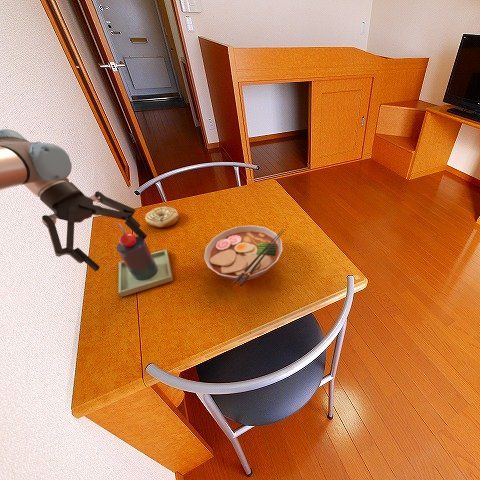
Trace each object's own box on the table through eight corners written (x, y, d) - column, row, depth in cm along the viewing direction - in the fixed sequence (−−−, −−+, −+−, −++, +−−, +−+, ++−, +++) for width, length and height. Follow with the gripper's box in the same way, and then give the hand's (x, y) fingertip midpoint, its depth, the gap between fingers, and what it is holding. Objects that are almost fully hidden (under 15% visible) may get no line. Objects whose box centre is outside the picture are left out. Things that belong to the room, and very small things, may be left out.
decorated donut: (163, 233, 97) (159, 224, 95) (141, 224, 100) (137, 216, 98) (185, 217, 104) (182, 209, 102) (164, 210, 108) (161, 202, 105)
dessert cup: (127, 279, 80) (97, 230, 68) (141, 262, 85) (114, 215, 73) (150, 281, 80) (123, 233, 68) (162, 264, 85) (139, 217, 73)
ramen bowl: (241, 233, 98) (237, 214, 93) (298, 252, 92) (297, 233, 87) (190, 281, 81) (181, 261, 76) (256, 308, 74) (252, 289, 69)
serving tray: (121, 297, 76) (118, 292, 75) (121, 266, 84) (118, 262, 83) (172, 280, 81) (171, 276, 80) (168, 253, 90) (166, 249, 88)
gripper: (102, 176, 79) (158, 231, 84) (-7, 221, 62) (72, 288, 67) (105, 162, 74) (165, 222, 79) (-11, 208, 57) (75, 281, 62)
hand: (123, 252), depth 73 cm, fingers open, 13 cm apart
